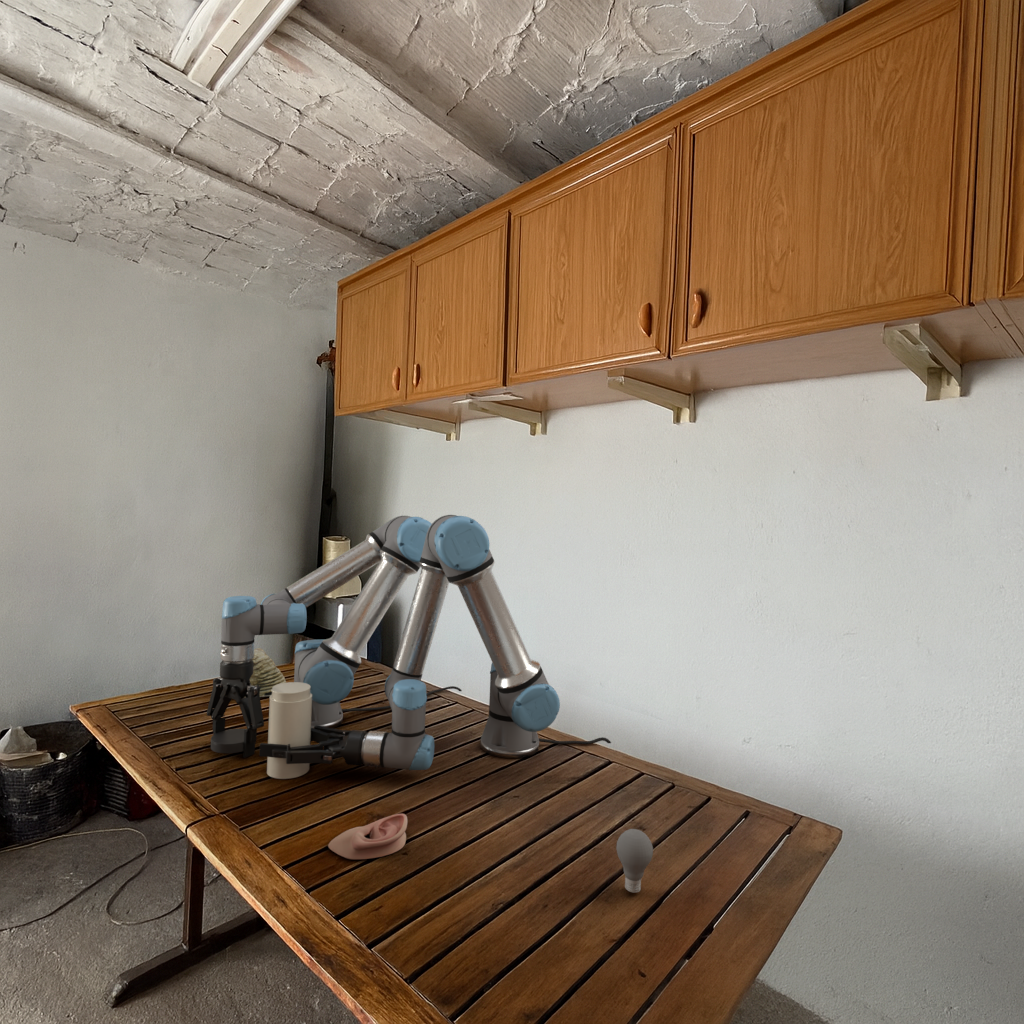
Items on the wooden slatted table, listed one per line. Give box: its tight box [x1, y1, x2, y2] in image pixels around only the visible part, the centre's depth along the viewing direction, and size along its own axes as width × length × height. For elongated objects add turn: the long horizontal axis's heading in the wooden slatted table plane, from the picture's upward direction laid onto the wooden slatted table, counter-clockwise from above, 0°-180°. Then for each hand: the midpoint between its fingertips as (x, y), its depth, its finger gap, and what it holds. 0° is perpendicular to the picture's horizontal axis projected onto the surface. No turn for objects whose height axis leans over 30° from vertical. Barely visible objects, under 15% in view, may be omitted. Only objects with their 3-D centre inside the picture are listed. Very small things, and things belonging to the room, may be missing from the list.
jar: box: [266, 681, 312, 780], centre depth 146 cm, size 9×9×19 cm
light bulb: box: [615, 828, 654, 894], centre depth 106 cm, size 6×6×10 cm
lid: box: [210, 728, 257, 754], centre depth 155 cm, size 10×10×2 cm
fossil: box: [243, 647, 287, 699], centre depth 198 cm, size 9×18×15 cm, turn 132°
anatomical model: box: [327, 813, 408, 861], centre depth 116 cm, size 13×4×12 cm
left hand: (233, 750), depth 155 cm, fingers closed on lid, 10 cm apart
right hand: (270, 741), depth 146 cm, fingers closed on jar, 9 cm apart
